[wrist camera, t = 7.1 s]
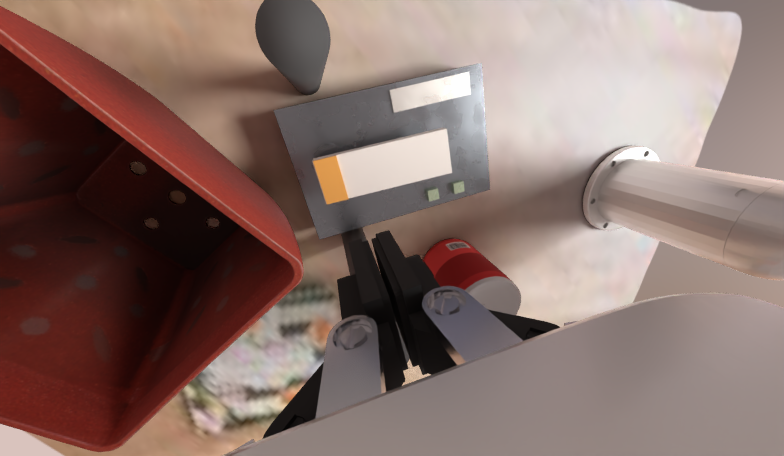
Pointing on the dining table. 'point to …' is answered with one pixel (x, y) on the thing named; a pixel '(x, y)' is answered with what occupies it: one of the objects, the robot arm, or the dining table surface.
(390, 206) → the breaker panel
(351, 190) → the paddle
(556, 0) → the dining table surface
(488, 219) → the dining table surface
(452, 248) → the canned food
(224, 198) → the plant pot
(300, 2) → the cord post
